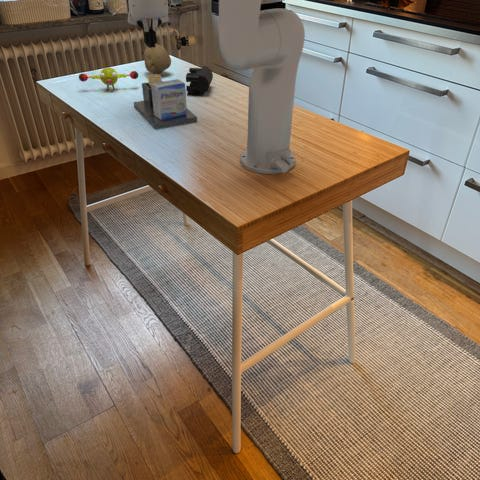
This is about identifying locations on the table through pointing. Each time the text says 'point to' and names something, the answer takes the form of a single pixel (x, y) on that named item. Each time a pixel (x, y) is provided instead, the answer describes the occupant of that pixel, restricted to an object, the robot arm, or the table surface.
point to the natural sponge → (156, 59)
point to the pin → (154, 79)
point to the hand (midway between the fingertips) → (150, 46)
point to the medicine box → (169, 99)
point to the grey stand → (148, 113)
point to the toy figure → (108, 76)
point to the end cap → (198, 81)
